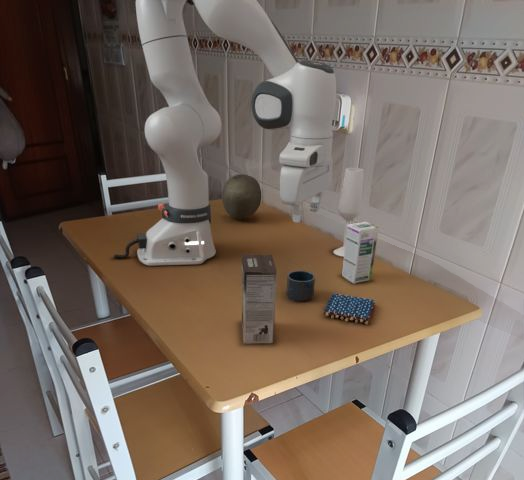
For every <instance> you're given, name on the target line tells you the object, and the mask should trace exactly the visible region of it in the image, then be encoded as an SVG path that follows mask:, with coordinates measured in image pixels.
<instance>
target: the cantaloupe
mask: <svg viewBox="0 0 524 480" xmlns="http://www.w3.org/2000/svg"><path fill="white" fill-rule="evenodd" d="M221 201H222V205H223V208H224V210H225V212H226V214H228V215H229V216H230V217H232V218H233V219H235V220H246V219H247V218H250V217H251V216H253V215H254V214H256V212H257V211H258V209H259V208H260V206H261V202H262V188H261V185H260V183H259V180H257V179H256V178H255V177H254V176H251V175H248V174H243V173H241V174H240V173H239V174H235V175H233V176H231V177H230V178H228V179H227V180H226V182H225V183H224V186H223V189H222V191H221Z"/></svg>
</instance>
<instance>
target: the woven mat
mask: <svg viewBox="0 0 524 480" xmlns="http://www.w3.org/2000/svg"><path fill="white" fill-rule="evenodd" d="M374 307H376V302H375V300H374V299H369V298H365V297H364V298H363V297H357V296H354V297H353V296H351V295H347V294H345V295H344V294H339V293H335V294H334V293H333V294H331V297H330V299H328V302H327V305H325V308H324V312H323V315H325V317H329V316H330V318H331V319H334V318H336V319H339V317H340V320H341V321H342V320H344V321H345V322H346V323H347V322H348V321H349V320H350V321H354V322H355V323H356V324H357V323H358V322H360V323H364V325H366V326H367V325H368V324H369V322H370V320H371V319H372V316H373V311H374V310H375V308H374ZM344 318H345V319H344Z"/></svg>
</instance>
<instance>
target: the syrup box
mask: <svg viewBox="0 0 524 480" xmlns="http://www.w3.org/2000/svg"><path fill="white" fill-rule="evenodd" d="M378 235H379V227H378V226H377V225H375V224H373V223H371V222H369V221H363V222H356V223H350V224H348V225H347V233H346V242H345V251H344V257H343V262H342V270H341V276H342V277H343V278H344V279H345V280H347V281H348V282H351V283H352V284H353V285H355V284H358V283H363V282H368V281H372V277H373V269H374V263H375V256H376V249H377V241H378Z"/></svg>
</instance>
